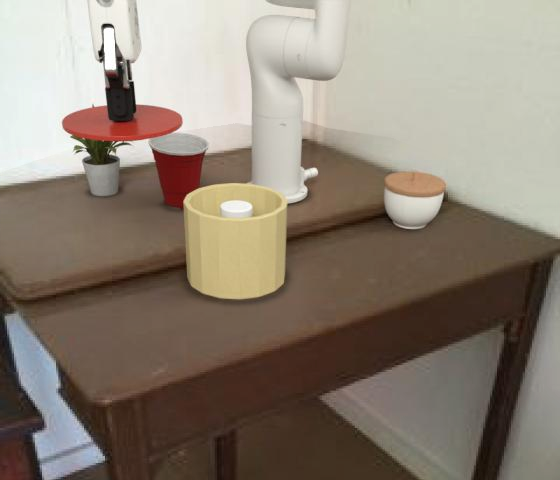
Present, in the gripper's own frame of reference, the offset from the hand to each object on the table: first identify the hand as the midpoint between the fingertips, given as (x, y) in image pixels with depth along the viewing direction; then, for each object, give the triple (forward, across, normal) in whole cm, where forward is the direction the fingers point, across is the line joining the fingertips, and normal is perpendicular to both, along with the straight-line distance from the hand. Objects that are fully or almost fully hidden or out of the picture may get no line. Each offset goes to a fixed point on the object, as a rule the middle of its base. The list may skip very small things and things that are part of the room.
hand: (122, 115), depth 92 cm
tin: (+24, 0, -15) cm, 28 cm away
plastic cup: (+25, +31, -5) cm, 40 cm away
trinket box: (+25, +22, -46) cm, 57 cm away
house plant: (+25, +37, +11) cm, 46 cm away
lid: (+1, 0, 0) cm, 1 cm away
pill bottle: (+24, 0, -15) cm, 28 cm away
